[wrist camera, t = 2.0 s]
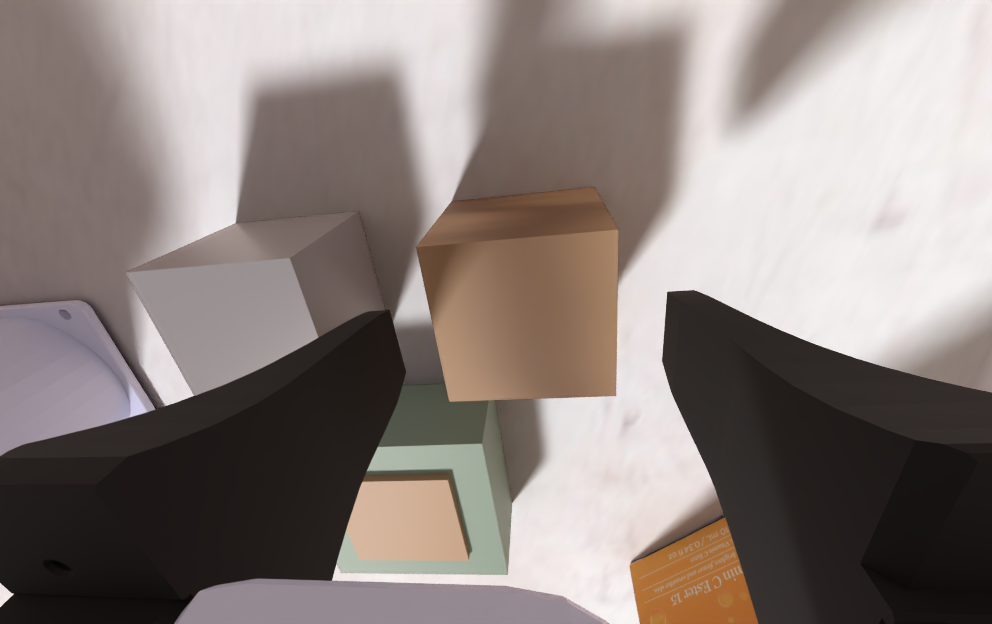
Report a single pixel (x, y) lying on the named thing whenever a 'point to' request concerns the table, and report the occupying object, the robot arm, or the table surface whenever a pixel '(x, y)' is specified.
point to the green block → (433, 492)
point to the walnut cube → (524, 295)
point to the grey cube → (257, 293)
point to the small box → (693, 581)
